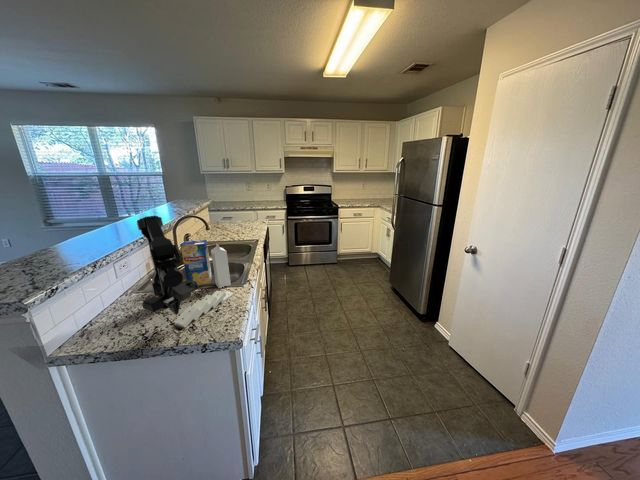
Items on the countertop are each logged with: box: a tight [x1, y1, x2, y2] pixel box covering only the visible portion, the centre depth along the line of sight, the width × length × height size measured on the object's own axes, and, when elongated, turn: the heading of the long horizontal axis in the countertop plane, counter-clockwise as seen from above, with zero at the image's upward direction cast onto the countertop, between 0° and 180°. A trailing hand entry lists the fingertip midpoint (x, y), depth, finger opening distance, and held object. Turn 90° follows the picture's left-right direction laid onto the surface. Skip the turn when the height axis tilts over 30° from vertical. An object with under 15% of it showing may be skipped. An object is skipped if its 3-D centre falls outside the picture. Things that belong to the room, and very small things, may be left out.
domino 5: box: [220, 290, 235, 304], centre depth 120 cm, size 5×2×8 cm
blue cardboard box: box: [180, 239, 213, 286], centre depth 133 cm, size 7×11×22 cm, turn 104°
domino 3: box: [201, 294, 217, 315], centre depth 111 cm, size 5×2×8 cm
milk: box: [210, 243, 231, 289], centre depth 129 cm, size 6×6×22 cm
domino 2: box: [192, 299, 209, 321], centre depth 106 cm, size 5×2×8 cm
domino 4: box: [210, 290, 226, 309], centre depth 115 cm, size 5×2×8 cm
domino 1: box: [174, 305, 200, 329], centre depth 102 cm, size 5×2×8 cm
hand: (176, 314), depth 97 cm, fingers closed
